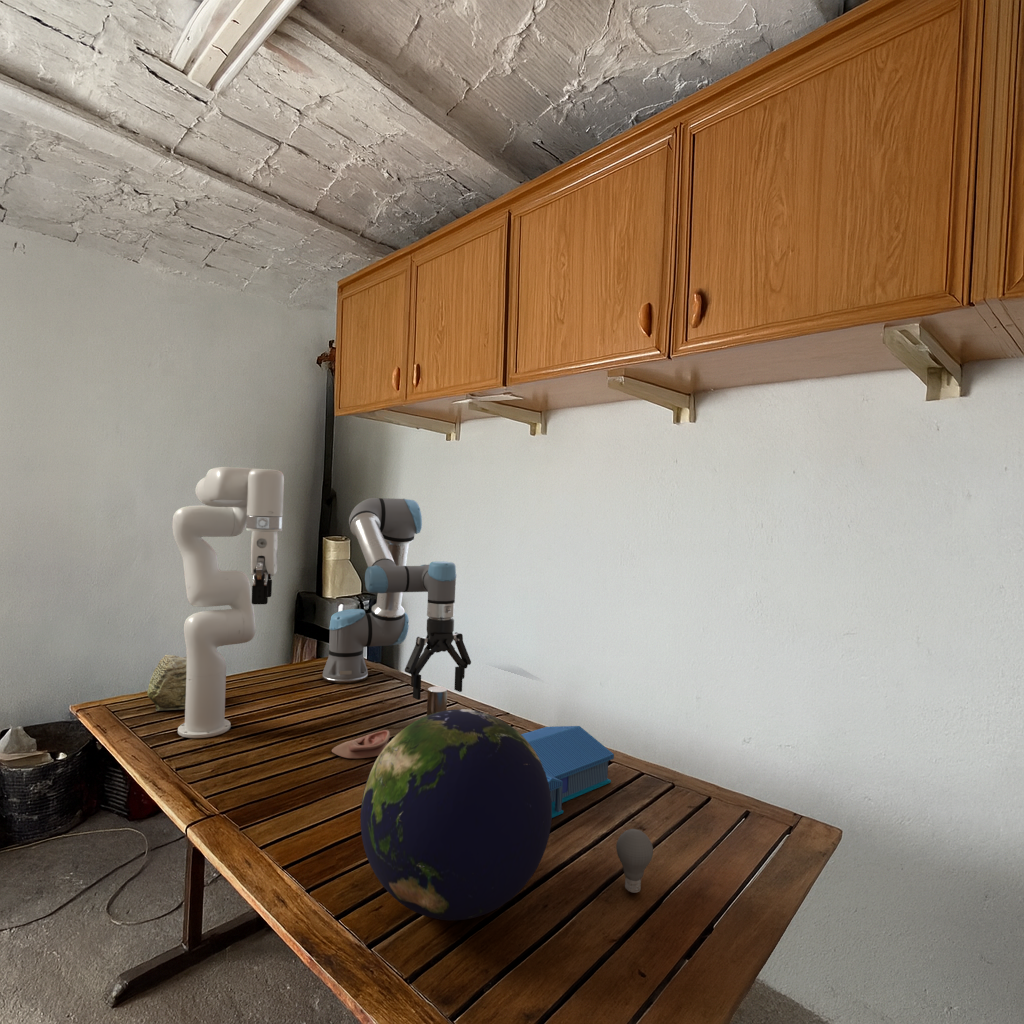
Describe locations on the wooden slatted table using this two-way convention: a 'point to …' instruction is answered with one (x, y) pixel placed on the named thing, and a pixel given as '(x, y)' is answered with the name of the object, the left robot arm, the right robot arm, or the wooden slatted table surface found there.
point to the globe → (456, 814)
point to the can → (436, 699)
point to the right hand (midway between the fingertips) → (437, 694)
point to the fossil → (169, 683)
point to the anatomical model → (363, 746)
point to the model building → (570, 762)
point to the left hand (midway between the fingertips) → (261, 600)
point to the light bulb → (634, 857)
